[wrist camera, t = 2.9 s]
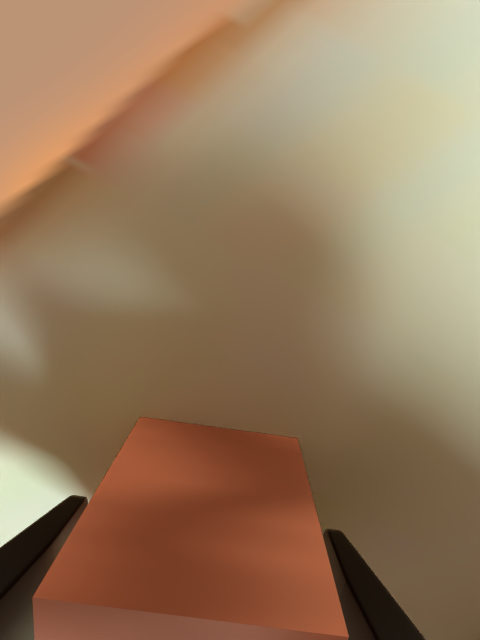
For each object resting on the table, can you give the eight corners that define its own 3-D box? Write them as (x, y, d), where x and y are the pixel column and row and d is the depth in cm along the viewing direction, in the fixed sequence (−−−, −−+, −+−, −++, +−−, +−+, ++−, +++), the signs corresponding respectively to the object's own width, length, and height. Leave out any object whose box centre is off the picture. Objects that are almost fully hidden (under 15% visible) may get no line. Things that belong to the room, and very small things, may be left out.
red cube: (297, 436, 9) (349, 637, 4) (270, 554, 10) (290, 805, 5) (140, 414, 9) (32, 597, 4) (133, 537, 10) (41, 777, 5)
